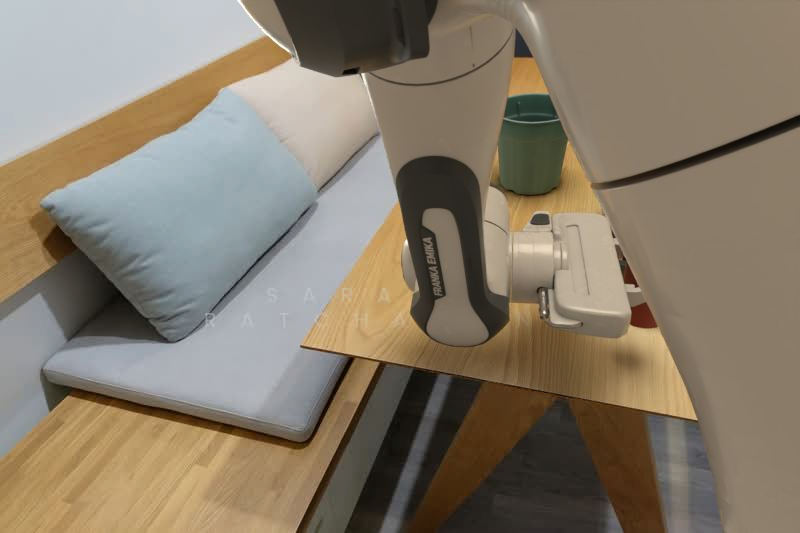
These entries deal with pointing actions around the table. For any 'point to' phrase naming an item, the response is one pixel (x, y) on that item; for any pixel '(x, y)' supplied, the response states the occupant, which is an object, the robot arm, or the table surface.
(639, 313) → the doll
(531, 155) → the flower pot
